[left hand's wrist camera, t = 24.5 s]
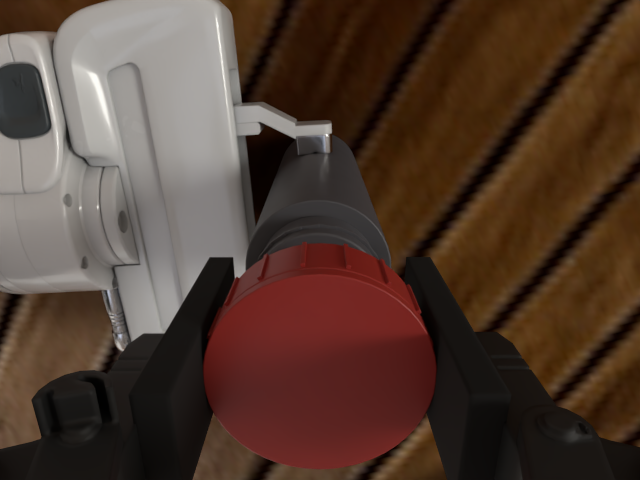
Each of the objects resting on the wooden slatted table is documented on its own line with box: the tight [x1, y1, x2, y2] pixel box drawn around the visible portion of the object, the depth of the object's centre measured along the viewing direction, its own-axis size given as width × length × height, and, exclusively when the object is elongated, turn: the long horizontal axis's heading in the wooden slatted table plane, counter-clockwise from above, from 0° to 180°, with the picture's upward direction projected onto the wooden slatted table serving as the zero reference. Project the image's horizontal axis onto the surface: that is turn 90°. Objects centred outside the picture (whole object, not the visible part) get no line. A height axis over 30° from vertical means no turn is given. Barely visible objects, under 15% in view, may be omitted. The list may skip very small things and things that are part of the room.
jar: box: [245, 135, 391, 271], centre depth 22 cm, size 5×5×18 cm
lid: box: [203, 242, 437, 469], centre depth 12 cm, size 6×6×2 cm
